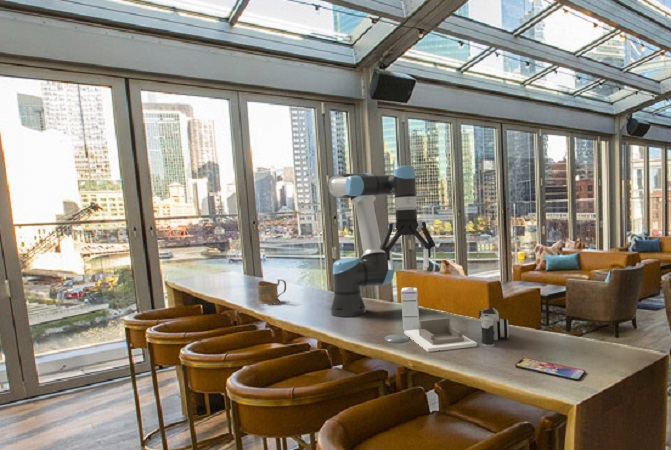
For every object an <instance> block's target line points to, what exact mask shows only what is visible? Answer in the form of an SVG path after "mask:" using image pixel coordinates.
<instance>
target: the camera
mask: <svg viewBox="0 0 671 450" xmlns="http://www.w3.org/2000/svg"><path fill="white" fill-rule="evenodd" d="M478 314H479V315H478V318H479V320H480V322H481V323H480V324H481V325H480V326H481V344H482V346H485V347H494V346H495V341H498V340H499V338H505V339H508V338H509V337H510V334H509V331H510V329H509V327H510V326H509V320H508V318H500V316H499V312H498V310H497V309H495V308H494V307H491V308H484V309H482V310H479V313H478Z"/></svg>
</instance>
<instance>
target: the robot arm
mask: <svg viewBox="0 0 671 450" xmlns="http://www.w3.org/2000/svg"><path fill="white" fill-rule="evenodd" d="M415 171H416V170H415V167H414V166H412V165H399V166H395V167H394V168H393V174H380V175H378V174H377V175H375V174H372V173H366V172H362V173H338V174H335V175H333V176H331V177H330V178H329V179H328V180H327V182H326V190H327V192H328V193H329V194H330V196H332V197H334V198H338V199H350V202H351V204H352V205H353V206H354V207H355V211H356V212H355V213H356V217H357V218H356V219H357V223H358V224H357V225H358V231H359V235H360V236H359V237H360V242H361V247H362V253H363V254H362V255H361V256H360V257H357V256H353V257H346V258H340V259H338V260H336V261H334V263H333V264H332V277H333V299H332V303H331V306H330V314H331V315H332V316H335V317H341V318H342V317H347V318H348V317H359V316H362V315H365V314H367V307H366V303H365V301H364V299H363V296H362V288H369V287H376V286H379V287H382V286H385V285H389V284H390V283H392V281H393V279H394V275H395V264H394V260H393V251H391V250H392V248H393V247H394V245H395V244H396V243H397V242H398V240H399V239H400V238H401V236H414V237H415V238H416V239H417V240H418V242H420V244H421V245H423V247H424V248H423V249H422V250H423V251H422V252H423V253H422V254H423V267H425V268H430V264H429V262H430V261H429V258H431V256H432V253H431V249H432V248H434V247H436V242H435V241H434V239H433V237H432V235H431V233H430V232H429V229H428V228H427V222H426V221H420V222H419V221H418V210H417V209H416V208H417V186H416V185H417V184H416V181H417V180H416V173H415ZM377 196H394V199H395V200H394V204H395V205H394V206H395V207H394V208H395V209H396V210H395V223H388V224H387V227H386V228H387V229H386V231H385V234H384V237H383V239H382V241H381V236H380V232H379V231H380V230H379V225H378V220H377V214H376V212H375V211H376V210H375V205H374V202H375V201H376V199H377ZM418 228H420V230H421V232H422V234H423V235H424V237H423V236H422V235H421V233H420V232H419V231H418ZM394 229H396V230H397V231H396V232H395V233H394V235H393V237H392V238H391V235H392V233H393V231H394ZM390 238H391V240H390ZM389 240H390V241H389Z"/></svg>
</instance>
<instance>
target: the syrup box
mask: <svg viewBox="0 0 671 450" xmlns="http://www.w3.org/2000/svg"><path fill="white" fill-rule="evenodd" d="M400 297H401V298H400V300H401V315H402V317H401V319H402V330H403V331H406V330H416V329H419V320H420V313H419V312H420V311H419V310H420V308H419V295H418V288H417V287H413V286H412V287H411V286H410V287H402V288H401V290H400Z"/></svg>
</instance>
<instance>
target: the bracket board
mask: <svg viewBox="0 0 671 450" xmlns="http://www.w3.org/2000/svg"><path fill="white" fill-rule="evenodd" d="M450 322H451V320H450V317H437V318H429V319H419V329H416V330H403V335H406V336H408V337H410V338H409V339H411V340H412V341H413V340H414V341H413V342H414V343H416V344H417V345H418V344H419V347H421V348H422V347H423V349H424V350H425V351H426V352H427V353H430V352H438V351H439V350H440V351H446V350H447V351H448V350H456V349H465V348H473V347H478V343H477V342H476V341H474V340H473V339H471V338H469V337H467V336H465V335H464V334H463V332H462V331H460V330H458V329H457V328H455V327H453V326H452V325H451V323H450ZM440 351H439V352H440Z"/></svg>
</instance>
